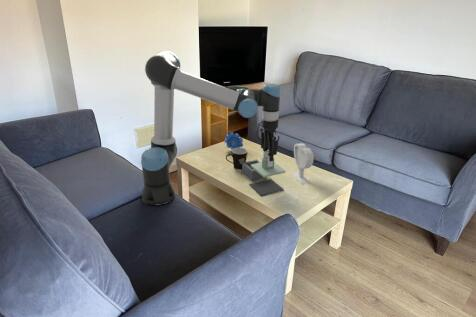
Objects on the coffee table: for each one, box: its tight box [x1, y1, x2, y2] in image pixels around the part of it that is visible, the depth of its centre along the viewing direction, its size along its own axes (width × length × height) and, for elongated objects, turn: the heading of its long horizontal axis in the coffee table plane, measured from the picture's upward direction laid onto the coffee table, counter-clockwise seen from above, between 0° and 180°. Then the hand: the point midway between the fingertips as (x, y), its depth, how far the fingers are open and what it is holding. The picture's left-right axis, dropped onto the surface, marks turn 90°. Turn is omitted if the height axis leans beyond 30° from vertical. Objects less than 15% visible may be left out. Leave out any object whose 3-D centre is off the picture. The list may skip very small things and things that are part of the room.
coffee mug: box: [225, 147, 248, 171], centre depth 190 cm, size 12×9×10 cm
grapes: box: [223, 132, 244, 151], centre depth 209 cm, size 12×7×12 cm, turn 92°
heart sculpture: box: [291, 143, 315, 185], centre depth 178 cm, size 16×5×18 cm, turn 16°
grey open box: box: [241, 159, 268, 183], centre depth 182 cm, size 9×11×6 cm
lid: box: [251, 157, 286, 179], centre depth 166 cm, size 12×13×6 cm
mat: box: [248, 178, 285, 197], centre depth 172 cm, size 13×12×1 cm
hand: (267, 164), depth 166 cm, fingers closed on lid, 3 cm apart
